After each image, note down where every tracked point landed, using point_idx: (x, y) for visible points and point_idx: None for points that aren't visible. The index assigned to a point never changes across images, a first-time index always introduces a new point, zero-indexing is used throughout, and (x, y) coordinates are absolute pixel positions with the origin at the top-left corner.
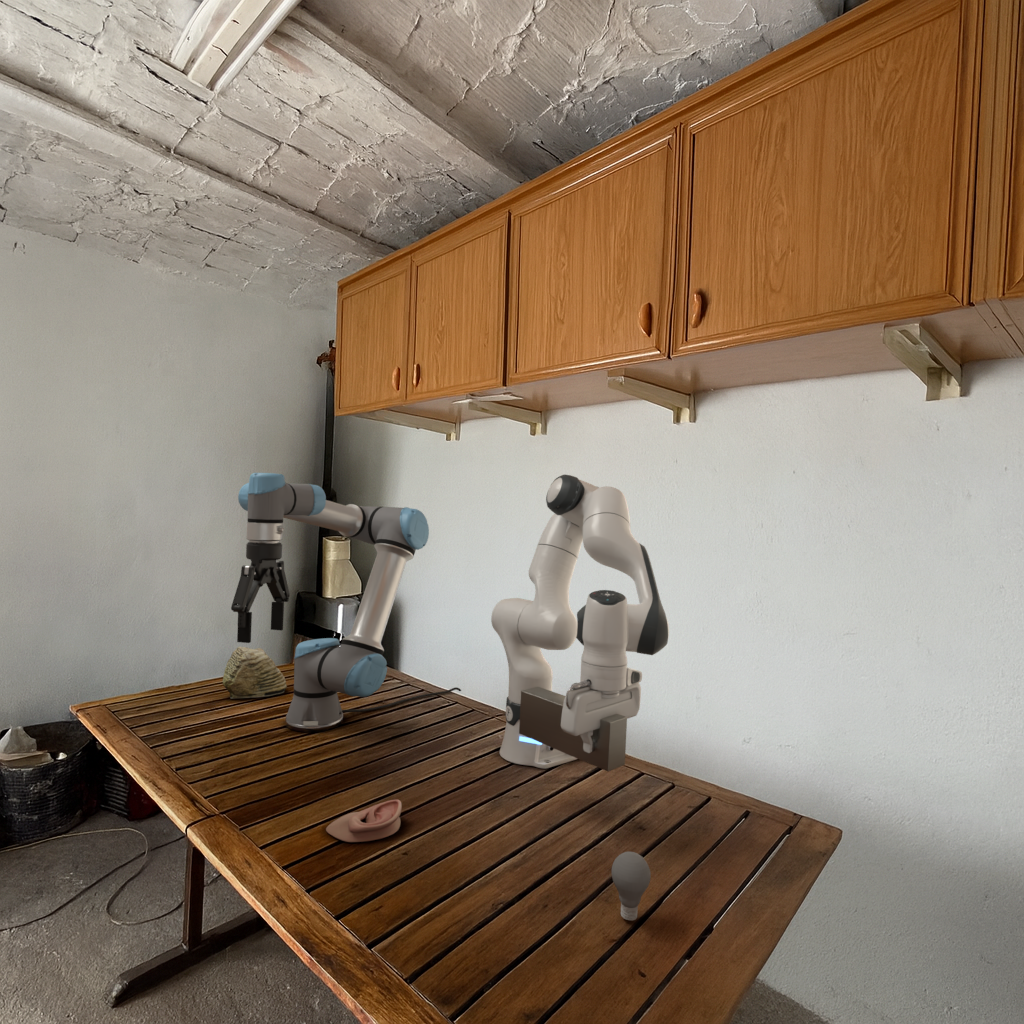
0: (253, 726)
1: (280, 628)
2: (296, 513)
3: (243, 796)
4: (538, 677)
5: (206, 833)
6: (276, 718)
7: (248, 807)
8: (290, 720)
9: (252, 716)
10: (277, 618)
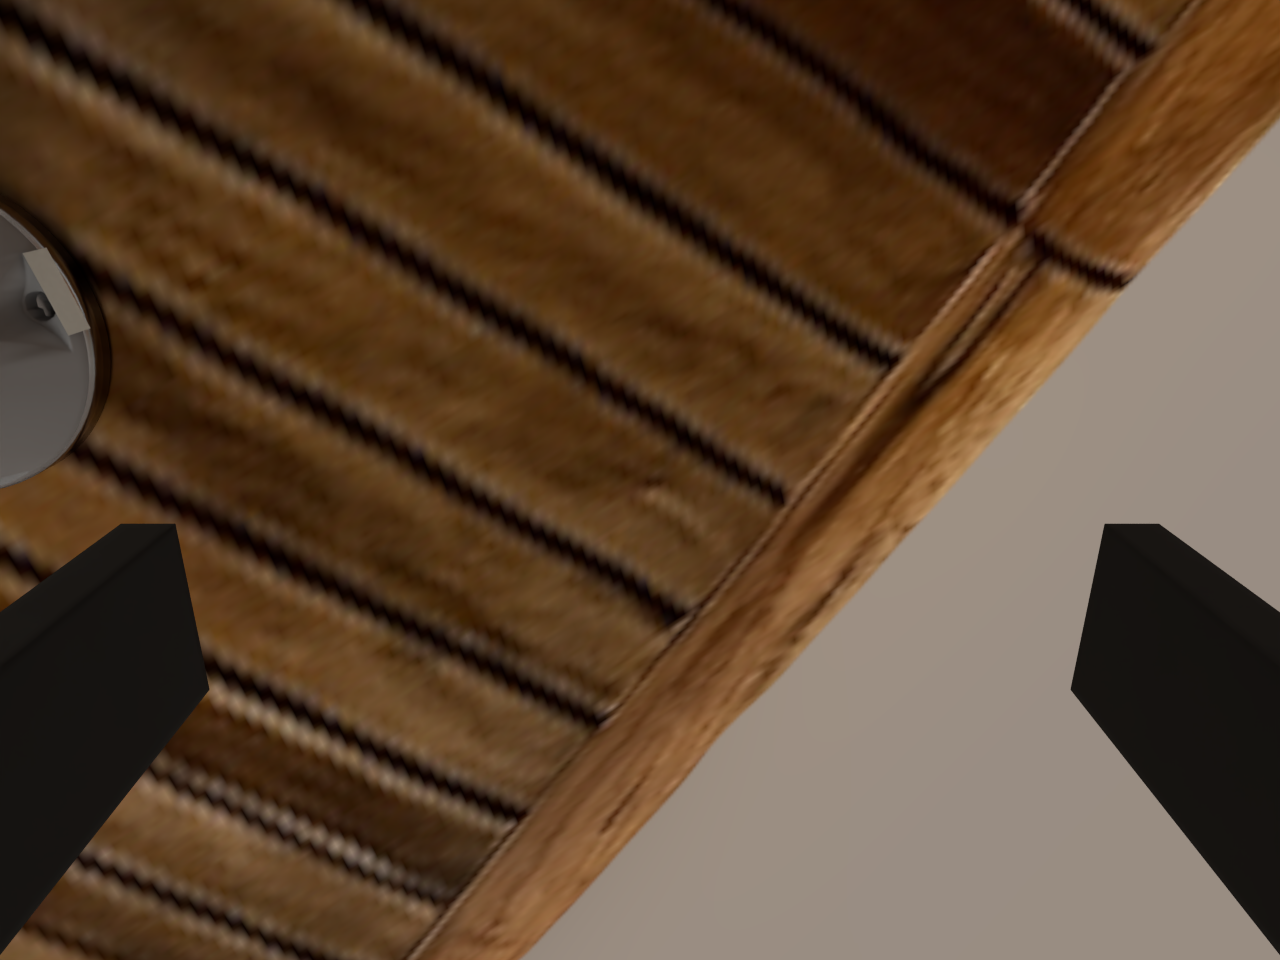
0: None
1: (162, 553)
2: None
3: (859, 213)
4: None
5: (1183, 177)
6: (7, 547)
7: (955, 131)
8: (73, 422)
9: None
10: (73, 709)
